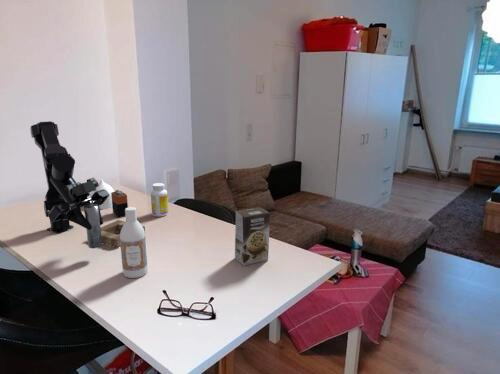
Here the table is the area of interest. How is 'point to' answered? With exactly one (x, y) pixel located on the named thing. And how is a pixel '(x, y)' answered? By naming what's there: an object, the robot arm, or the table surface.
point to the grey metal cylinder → (93, 225)
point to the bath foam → (133, 246)
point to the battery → (119, 203)
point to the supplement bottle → (159, 200)
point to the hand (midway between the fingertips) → (96, 226)
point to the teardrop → (109, 189)
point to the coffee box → (252, 235)
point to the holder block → (112, 233)
